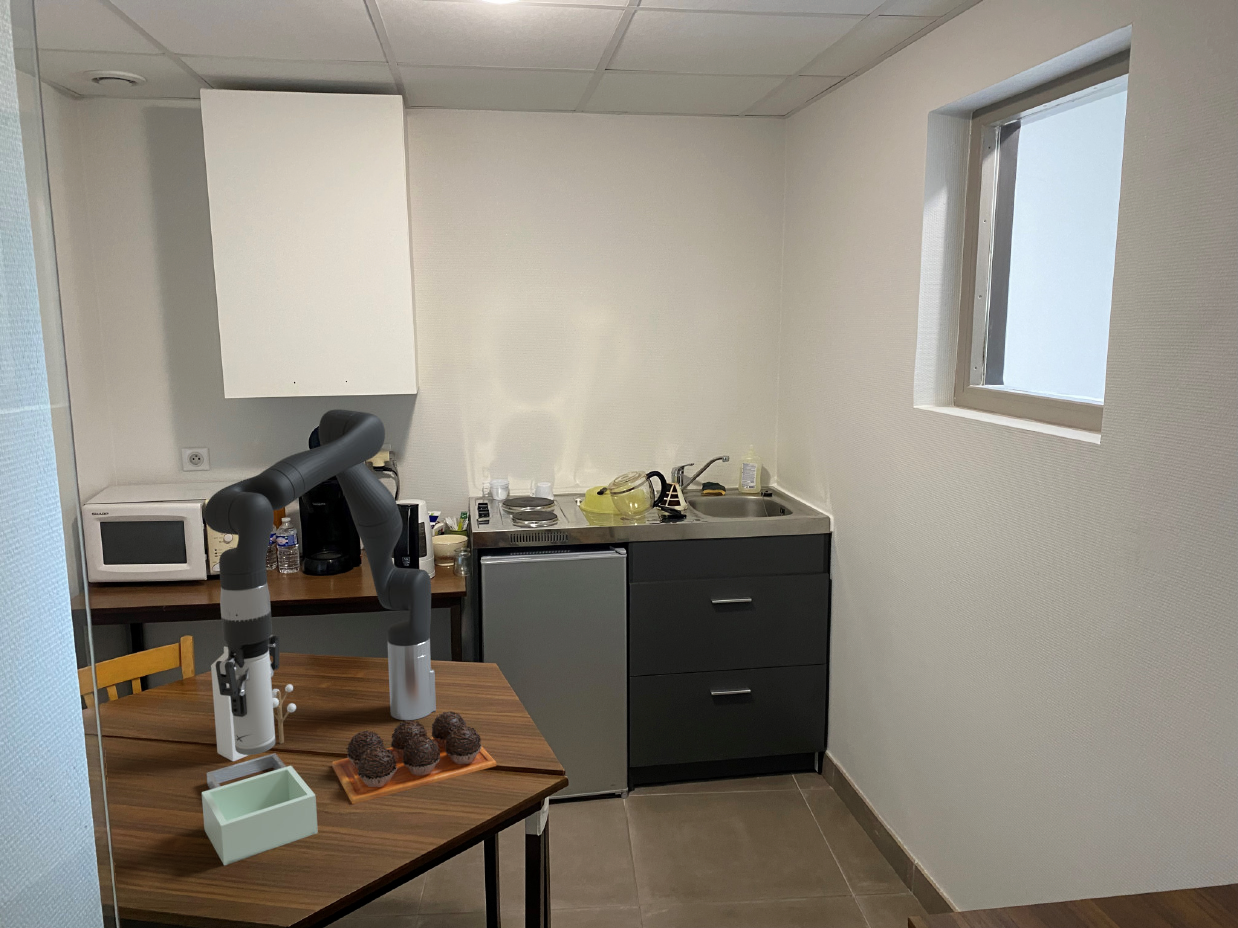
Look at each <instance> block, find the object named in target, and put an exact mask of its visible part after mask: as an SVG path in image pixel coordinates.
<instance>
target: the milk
mask: <svg viewBox="0 0 1238 928" xmlns="http://www.w3.org/2000/svg"><path fill="white" fill-rule="evenodd" d="M228 651H229V650H228V646H223V653H222V655H221V656H219V657H218V658H217V659H216V660H215V661H214V662H213V663H212V664H211V665H210V670H211V671H210V672H211V681H212V684H211V685H212V696H213V697H212V698H213V710H214V723H215V737H216V738H215V739H216V750H217V754H218V755H221V756H222V757H224V758H226V759H227V760H230V761H231V762H235V761H238V760H240V759H243V758H245V757H248V756H249V755H243V754H240V753H238V752H237V751H236V750H235V737H234V724H233V714H232V710H231V709H232V708H231V697H230V696H224V695H220V690H219V684H218V678H217V672H216V662H217V661H224V660H226V659H227V658H228ZM226 685H227V688H228V687H229V684H227V683H226Z"/></svg>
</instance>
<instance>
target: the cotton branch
mask: <svg viewBox="0 0 1238 928" xmlns="http://www.w3.org/2000/svg"><path fill="white" fill-rule="evenodd" d="M284 690H285V692H284V694H283V696H282V695H281V694H282V693H281V691H280V689H278V688H272V701H273V709H275V708H276V709H277V712H274V711H273V715H274V718H276V719H277V725H278V739H279V741H278V743H279V744H284V743H285V739H284V738H285V735H284V721H285V719H286V718H287V716H288V715H289V714H290V713H294V712H295V711H296V710H297V705H296V704H295V703H288V705H287V706H286V710H287V711H286V713H285V714H284V715H283V707H282V706H283V703H284V701H285V699H286V698H287V697H288V694H289V693H291V692H293V690H294V686H293V684H290V683H289V684H287V685H286V686H285V688H284ZM276 713H277V714H276Z"/></svg>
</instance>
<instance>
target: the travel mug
mask: <svg viewBox="0 0 1238 928" xmlns="http://www.w3.org/2000/svg"><path fill="white" fill-rule="evenodd" d="M227 647H228V650H229V645H228V644H227ZM242 648H243V651H244V662H245V663H244V666H243V667H242V668H240V667H239V665H238V664H237V663H236V662H235V668H236V670H235V675H241V676H242V675H244V674H245V671H246V670H247V669H248V668H249V675H250V679H249V681H247V682H246V690H245V694H246V705H247V714H246V715H245V716H244V717H237V716H234V715H233V724H234V737H235V750H236V751H237V752H238V753H240V754H243V755H248V756H254V755H259V754H262V753H266V752H268V751H269V750H270V749H272V748H273V747H274V746H275V745H276V732H275V716H274V715H273V712H274V708H273V701H272V698H273V697H272V690H273V687H272V686H271V684H272V677H271V672H270V660H271V659H270V657H271V656H269V648H268V639H266V640H264V641H262V642H259V643H255V644H250V645H248V644H246V645H242ZM242 648H241V649H242ZM228 654H229V651H228ZM236 681H237V688H239V686H240V680H236Z"/></svg>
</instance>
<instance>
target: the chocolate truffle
mask: <svg viewBox="0 0 1238 928" xmlns="http://www.w3.org/2000/svg"><path fill="white" fill-rule="evenodd" d="M402 721H403V722H399V724H398V725H397V727H395V728H394V730H393V733H392V734H391V739H392V740H391V742H390V747H388V748H386V747H385V746H384V739H383V738H382V737H380V735H379V734H378V733H376V732H375V731H374V730H373V731H371V730H363V731H360V732H358V733H356V734H355V735H353V736H352V737H351V740H350V742H348V743H347V747H346V749H345V750H347V755H346V758H342V759H339V760H335V761H332V762H331V767H332V769H333V771H334V773H335V775H336V776H337V778H338V780H339V782H340V784H341V786H342V787H343V789H344V791H345V793H346V795H347V797H348V798H349V801H350V802H351V804H352V805H355V804H359V803H363V802H367V801H370V800H374V799H378V798H382V797H386V796H389V795H394V794H396V793H401V792H404V791H407V790H412V789H414V788H415V789H416V788H419V787H423V786H427V785H430V784H433V783H438V782H440V781H445V780H449V779H452V778H456V777H461V776H465V775H467V774H472V773H475V772H479V771H483V770H486V769H490V768H493V767H497V761H496V760H495V759H494V758H493V757H492V756H491V755H490V754H489V753H488V752H487V750H485V748H484V747H483V746H482V744H481V743H482V739H481V736H480V735H479V733H478V732H477V730H476V729H475V728H474V727H471V726H467V723H466V721H465V719H464V717H462V715H460V713H457V712H455V711H447V712H445V711H443V712H442V713H439V716H438V715H437V716H436V717H435V719H434V721H433V723H432V724H431V726H432V727H431V737H429V736H428V731H427V729H425V726H424V725H423V724H421V723H419V721H415V720H402Z"/></svg>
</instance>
